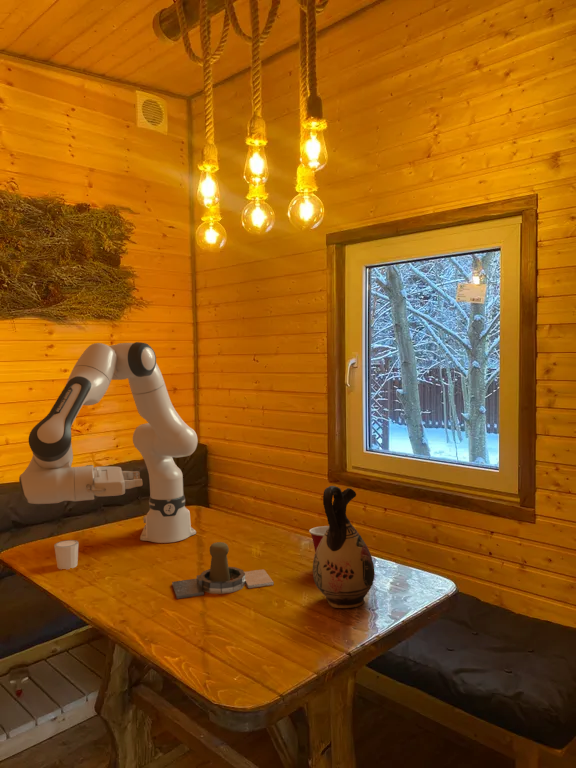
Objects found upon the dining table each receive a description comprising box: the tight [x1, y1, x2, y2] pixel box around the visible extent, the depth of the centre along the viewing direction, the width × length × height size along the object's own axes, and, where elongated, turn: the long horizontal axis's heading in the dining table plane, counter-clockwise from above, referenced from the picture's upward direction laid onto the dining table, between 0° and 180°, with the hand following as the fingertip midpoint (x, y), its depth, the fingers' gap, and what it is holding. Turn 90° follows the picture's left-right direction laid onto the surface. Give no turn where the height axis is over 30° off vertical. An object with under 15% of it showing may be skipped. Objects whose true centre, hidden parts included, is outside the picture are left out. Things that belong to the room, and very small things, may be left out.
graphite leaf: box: [171, 566, 245, 600], centre depth 167 cm, size 12×19×3 cm, turn 108°
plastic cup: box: [308, 525, 329, 553], centre depth 177 cm, size 11×11×12 cm
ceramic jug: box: [312, 485, 376, 609], centre depth 154 cm, size 17×15×30 cm
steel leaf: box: [202, 569, 274, 595], centre depth 170 cm, size 12×19×1 cm, turn 108°
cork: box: [209, 541, 231, 582], centre depth 170 cm, size 6×6×11 cm
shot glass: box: [53, 539, 79, 570], centre depth 186 cm, size 7×7×7 cm
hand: (141, 478), depth 166 cm, fingers open, 8 cm apart
